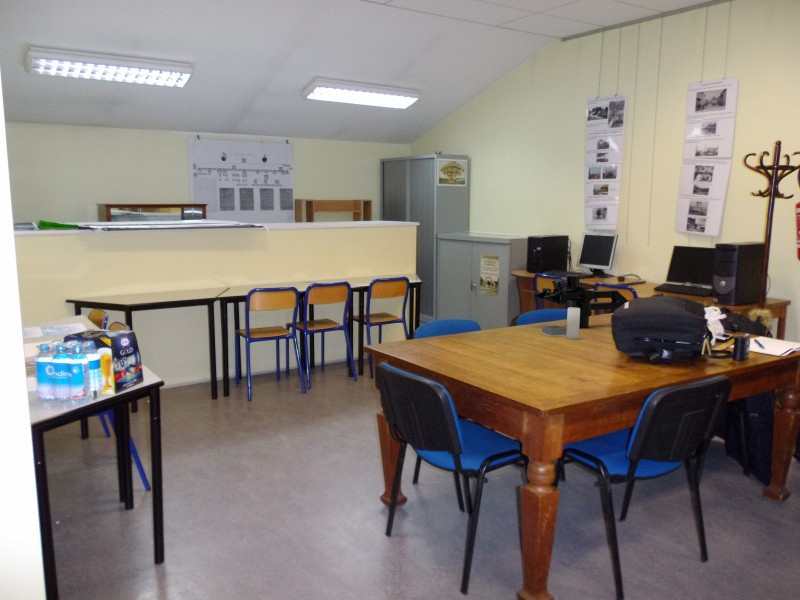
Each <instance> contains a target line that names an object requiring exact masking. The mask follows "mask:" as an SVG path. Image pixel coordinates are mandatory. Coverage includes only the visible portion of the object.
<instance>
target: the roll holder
mask: <svg viewBox="0 0 800 600" xmlns="http://www.w3.org/2000/svg"><path fill="white" fill-rule="evenodd" d="M541 328H542V329H541V332H540V333H541V334H542V335H545V336H548V337H550V338H551V337H553V338H554V337H556V338H557V337H566V335H567V327H564V326H562V325H561V326H560V325H558V324H557V325H556V324H555V325H542V327H541Z"/></svg>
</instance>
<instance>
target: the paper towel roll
mask: <svg viewBox="0 0 800 600" xmlns="http://www.w3.org/2000/svg"><path fill="white" fill-rule="evenodd" d="M566 315H567V317H566V328H567V335H566V336H565V338H567V339H569V340H579V336H580V328H579V322H580V308H574V307H571V306H570V307H567V314H566Z"/></svg>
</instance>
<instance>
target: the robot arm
mask: <svg viewBox="0 0 800 600" xmlns="http://www.w3.org/2000/svg"><path fill="white" fill-rule="evenodd" d="M565 278H566V280H565V281H564V280H562V279H561V278H556V279H554V280H552V281H551V283H552V286H553V289H551V288H548V287H543V288H542V291H540V292H537V293H535V294H534V295H533V296H534V297H535V298H537V299H539V300H542V301H547V302H551V303H554V304H557V305H560V306H562V305H563V306H565V305H566V303H567V302H571V304H570V307H574V308H580V322H579V329H586V328H587V327H590V328H591V326H590V325H589V324H590V317H591V316H592V314H593V312H592V311H599V310H601V311H605V310H616V309H617V308H618V307H620V306H621V305H623V304H624V303H625V302H627V301H630V300H628V299H627V298H626V296H624V295H622V294H621V292H620V291H618V290H616V289H604V290H603V289H602V290H590V289H585V288H584V287H583V286H580V279H581V275H576V274H575V275H574V274H573V275H572V274H567V275H566V276H565ZM566 288H567V289H566ZM595 299H611V301H593V300H595ZM591 301H592V302H591Z"/></svg>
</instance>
